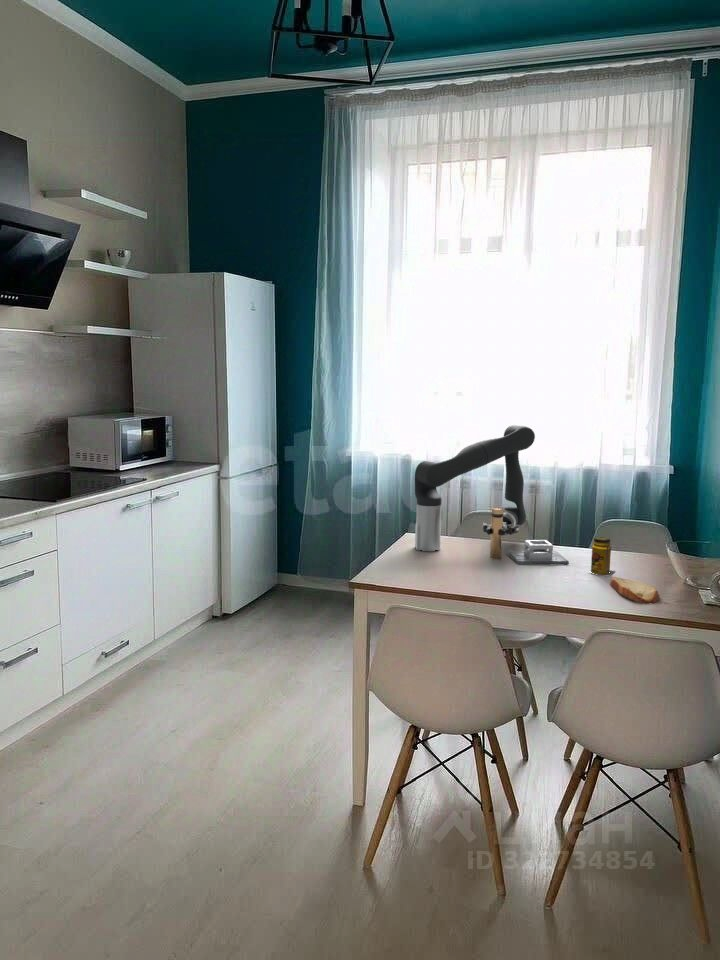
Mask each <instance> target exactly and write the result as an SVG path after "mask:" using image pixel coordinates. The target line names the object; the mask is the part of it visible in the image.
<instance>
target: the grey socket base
mask: <svg viewBox="0 0 720 960" xmlns="http://www.w3.org/2000/svg"><path fill="white" fill-rule="evenodd" d="M523 548H524V550H522V551H520V550H519V551H518V550H517V551H514V550H512V551H510V550H509V551H508V556H509V557H510V558H511V557H512V558H513V559H514V560H513V559H512V560H513V561H514V562H515V561H516V562H515V563H516V565H550V564H570V563H569V562H570V561H569V560H568V559H567V558H565V557H564V556H563V555H562V554H561V553H560V552H558V551H554V545H553V544H552V543H551V542H549V541H548V540H547V539H525V540H524V547H523Z"/></svg>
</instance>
